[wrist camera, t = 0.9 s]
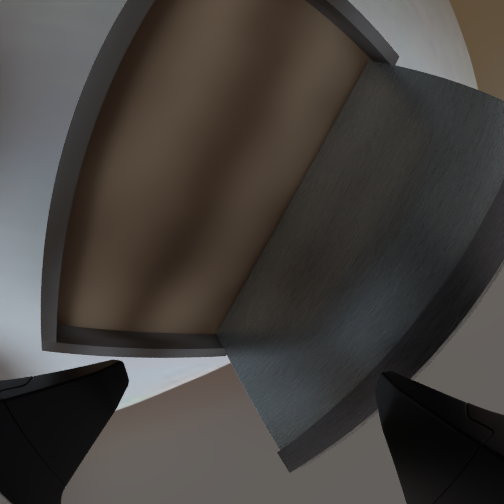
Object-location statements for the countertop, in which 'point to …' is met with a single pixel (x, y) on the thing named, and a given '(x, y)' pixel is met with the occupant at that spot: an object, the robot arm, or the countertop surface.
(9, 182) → the countertop surface
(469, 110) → the panel
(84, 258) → the tray
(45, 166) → the countertop surface
